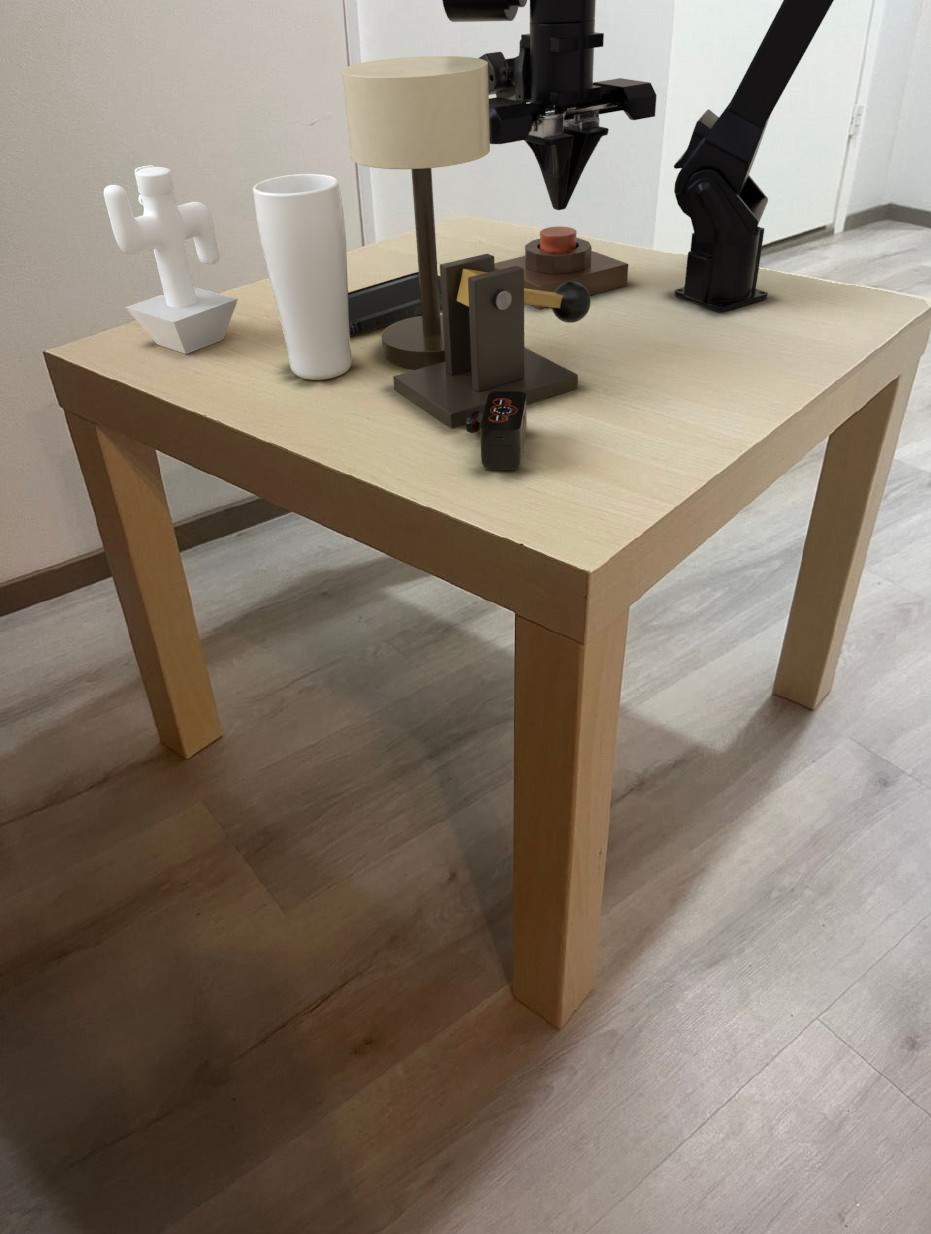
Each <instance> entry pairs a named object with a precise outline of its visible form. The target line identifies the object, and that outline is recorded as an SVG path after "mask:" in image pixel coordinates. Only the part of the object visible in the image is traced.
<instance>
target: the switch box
mask: <svg viewBox="0 0 931 1234" xmlns="http://www.w3.org/2000/svg"><path fill="white" fill-rule="evenodd" d="M592 247H593V246H592V245H591V243H590V241H588V240H585V239H582V238H580V237H576V249H575V250H570V251H566V252H549V251H543V250H541V249H540V238H536V239H532V240H530V241H529V242H528V243H526V244H525V245H524V255H523V256H519V257H514V258H510V259H507V260H502V261H498V262H494V267H495V271H497V270H501V269H505V268H509V267H513V266H519V267H521V268H524V288H526V289H533V290H540V291H547V292H555V290H556V289H557V288H558V287H559V286H560V285H561V284H563V283H566V282H578V283H580V284H582V285H583V286H584V287H585V288H586V289H587V290H588V292H589V295H590V296H594V295H596V294H601V293H604V292H608V291H613V290H616V289H620V288H624V287H627V286H628V279H629V278H628V277H629V276H628V275H629V263H628V262H624V261H622V260H619V259H617V258H613V257H610V256H608V255H605V254H602V253H599V252H597V251H594V250H592ZM531 306H532V307H535V308H537V309H539V310H541V309H545V308H546V307H545V306H537V305H531Z"/></svg>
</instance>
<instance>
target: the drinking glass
mask: <svg viewBox="0 0 931 1234" xmlns="http://www.w3.org/2000/svg"><path fill="white" fill-rule="evenodd" d="M252 195H253V204H254V212H255V219H256V224H257V225H256V226H257V231H258V237H259V240H260V241H259V242H260V246H261V250H262V251H261V252H262V255H263V258H264V263H265V266H266V267H265V268H266V270H267V271H266V272H267V274H268V279H269V282H270V286H271V290H272V293H273V298H274V302H275V307H276V310H277V314H278V318H279V322H280V326H281V330H282V334H283V338H284V339H283V340H284V343H285V346H286V352H287V359H288V365H289V368H290V370H291V372H292V373H293V374H294V375H295V376H296V377H298V378H301V379H304V380H309V381H321V380H322V381H323V380H329V379H334V378H337V377H339V376H341V375H343V374H345V373H347V372H348V371H349V370H350V369H351V366H352V363H353V356H352V355H353V354H352V348H351V336H350V331H349V306H348V292H349V286H348V285H349V283H348V281H349V278H348V249H347V233H346V223H345V221H346V220H345V214H344V206H343V199H342V194H341V186H340V182H339V180H338V178H336V177H335V176H333V175H332V176H331V175H328V174H322V173H298V174H287V175H279V176H275V177H271V178H266V179H263V180H261V181H259V182H257V183H256V184H254V185H253V187H252Z"/></svg>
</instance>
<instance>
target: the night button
mask: <svg viewBox="0 0 931 1234" xmlns="http://www.w3.org/2000/svg"><path fill="white" fill-rule="evenodd" d="M577 233H578V232H577V230H576V229H575V228H574V227H570V226H548V227H545V228H543V229H540V231H539V239H540V249H541V250H543V251H549V252H566V251H570V250H575V249H576V238H577Z"/></svg>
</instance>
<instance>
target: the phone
mask: <svg viewBox="0 0 931 1234" xmlns="http://www.w3.org/2000/svg"><path fill="white" fill-rule="evenodd" d="M438 287H439V304H440V308H442V297H441V280H440V275H438ZM348 306H349V331H350V337H352V336H359V335H361V334H364V333H367V332H371V331H373V330H376V329H379V328H383V327H385V326H390V325H391V324H393V323H395V322H398V321H401V320H404V319H407V318H412V317H417V316H420V315H422V311H421V297H420V283H419V271H416V272H412V273H408V274H405V275H402V276H398V277H394V278H392V279H388V280H385V281H382V282H379V283H375V284H371V285H368V286H365V287H361V288H358V289H355V290H351V291H348Z"/></svg>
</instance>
